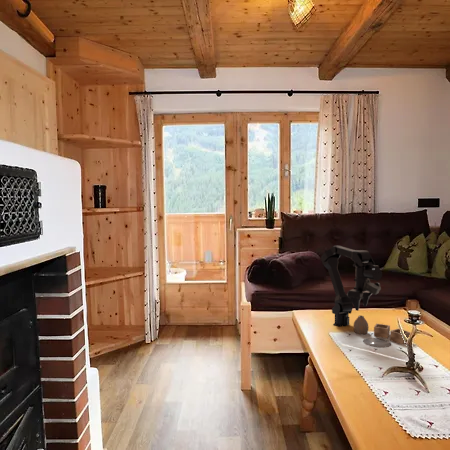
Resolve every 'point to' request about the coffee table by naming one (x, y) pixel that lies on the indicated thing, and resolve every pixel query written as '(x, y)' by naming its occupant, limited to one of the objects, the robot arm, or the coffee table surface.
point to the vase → (361, 325)
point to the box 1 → (382, 330)
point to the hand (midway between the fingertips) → (361, 308)
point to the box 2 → (398, 336)
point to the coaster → (377, 342)
